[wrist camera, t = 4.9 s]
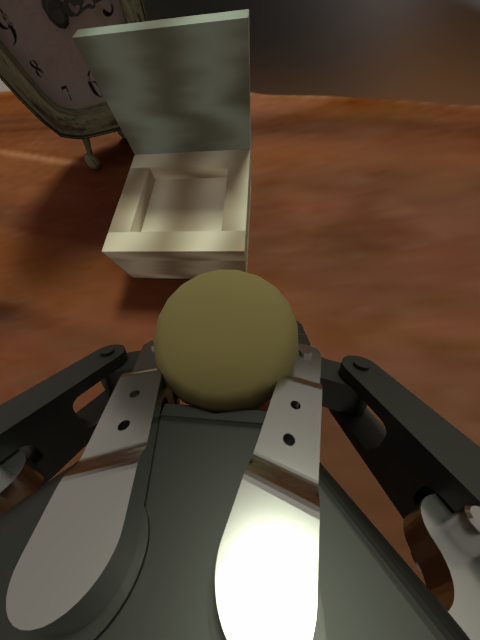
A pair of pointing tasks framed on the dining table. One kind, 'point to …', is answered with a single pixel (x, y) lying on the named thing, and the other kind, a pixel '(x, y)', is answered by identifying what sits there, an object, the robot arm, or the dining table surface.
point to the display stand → (178, 140)
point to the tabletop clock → (60, 62)
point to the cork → (225, 341)
